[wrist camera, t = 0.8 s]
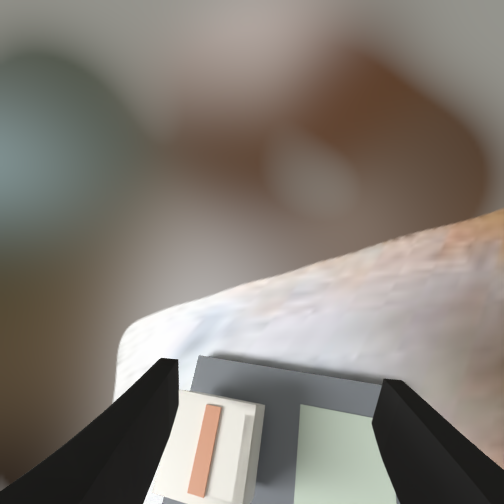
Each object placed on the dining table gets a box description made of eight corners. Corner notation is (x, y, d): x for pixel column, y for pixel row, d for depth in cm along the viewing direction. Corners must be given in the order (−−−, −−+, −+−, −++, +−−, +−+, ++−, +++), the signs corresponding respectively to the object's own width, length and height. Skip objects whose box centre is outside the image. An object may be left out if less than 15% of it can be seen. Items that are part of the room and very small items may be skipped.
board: (400, 587, 16) (409, 604, 15) (168, 510, 20) (158, 518, 18) (386, 387, 21) (392, 386, 20) (204, 357, 25) (198, 355, 24)
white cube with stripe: (253, 497, 17) (239, 522, 14) (180, 476, 19) (150, 493, 15) (265, 404, 20) (255, 405, 16) (200, 391, 21) (177, 389, 18)
